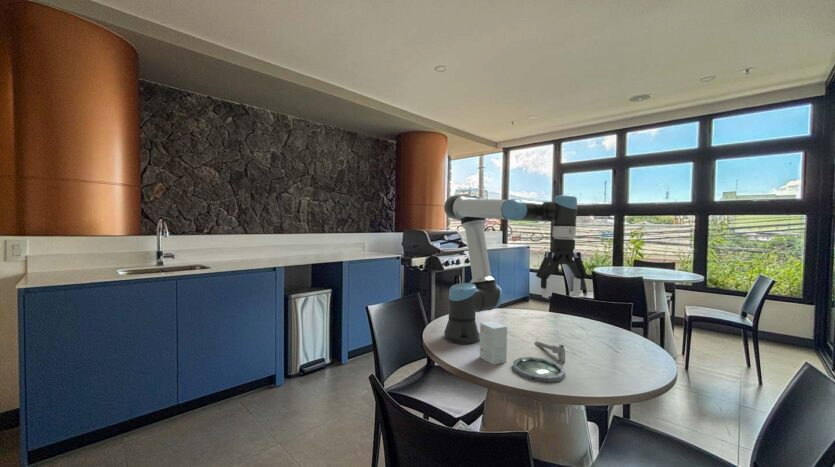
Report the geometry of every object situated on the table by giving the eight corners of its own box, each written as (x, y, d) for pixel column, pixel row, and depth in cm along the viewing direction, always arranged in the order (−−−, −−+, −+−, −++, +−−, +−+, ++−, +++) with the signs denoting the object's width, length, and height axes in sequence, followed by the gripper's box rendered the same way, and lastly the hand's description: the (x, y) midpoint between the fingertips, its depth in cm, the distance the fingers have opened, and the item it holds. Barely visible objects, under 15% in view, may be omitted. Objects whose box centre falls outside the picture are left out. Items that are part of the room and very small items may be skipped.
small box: (506, 362, 121) (507, 326, 120) (492, 365, 118) (493, 328, 118) (492, 354, 128) (493, 320, 128) (478, 356, 125) (479, 322, 125)
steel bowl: (504, 370, 114) (504, 366, 114) (526, 357, 125) (527, 353, 125) (551, 387, 102) (552, 382, 102) (572, 371, 114) (572, 367, 114)
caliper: (565, 363, 122) (565, 346, 121) (562, 363, 121) (563, 346, 121) (536, 343, 142) (537, 328, 142) (534, 343, 142) (534, 328, 141)
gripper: (541, 238, 113) (538, 300, 114) (599, 239, 120) (596, 297, 121) (527, 237, 120) (525, 295, 121) (583, 238, 127) (580, 293, 128)
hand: (560, 296), depth 121 cm, fingers open, 13 cm apart
